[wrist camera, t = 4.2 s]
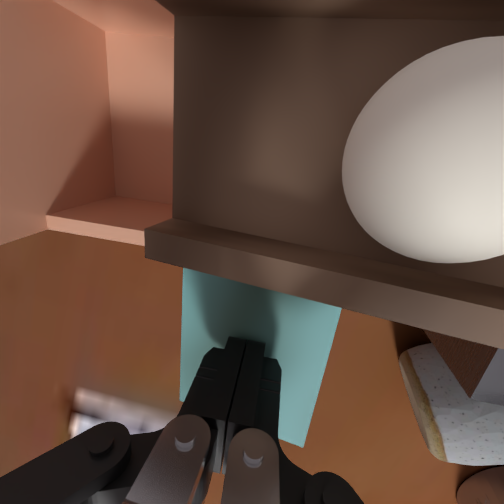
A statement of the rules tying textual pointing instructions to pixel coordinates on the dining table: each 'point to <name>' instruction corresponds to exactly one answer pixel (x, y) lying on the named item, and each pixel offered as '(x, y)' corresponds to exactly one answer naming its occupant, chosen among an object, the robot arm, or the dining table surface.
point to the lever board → (300, 183)
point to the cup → (85, 117)
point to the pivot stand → (473, 366)
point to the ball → (433, 156)
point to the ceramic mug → (451, 412)
